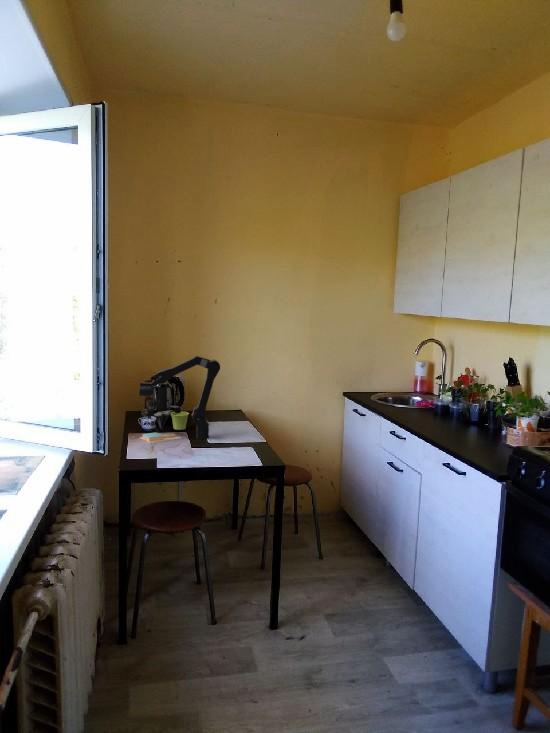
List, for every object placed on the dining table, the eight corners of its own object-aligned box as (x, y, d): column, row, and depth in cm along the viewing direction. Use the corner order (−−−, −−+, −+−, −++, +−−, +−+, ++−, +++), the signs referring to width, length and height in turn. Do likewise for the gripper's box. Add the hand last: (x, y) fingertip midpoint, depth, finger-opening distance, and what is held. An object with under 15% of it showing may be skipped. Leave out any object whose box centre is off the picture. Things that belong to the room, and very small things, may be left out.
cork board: (183, 439, 264) (183, 437, 264) (151, 444, 253) (151, 443, 253) (170, 434, 273) (170, 432, 273) (139, 439, 262) (139, 437, 262)
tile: (162, 435, 260) (149, 437, 255) (162, 439, 260) (149, 441, 255) (155, 432, 265) (142, 434, 261) (155, 436, 265) (142, 438, 261)
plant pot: (191, 431, 281) (191, 414, 280) (173, 432, 277) (173, 415, 276) (185, 427, 290) (186, 411, 288) (168, 428, 286) (168, 412, 284)
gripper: (170, 392, 273) (170, 422, 275) (135, 395, 261) (135, 427, 263) (182, 396, 264) (181, 427, 266) (146, 399, 252) (146, 432, 254)
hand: (161, 428), depth 263 cm, fingers closed
